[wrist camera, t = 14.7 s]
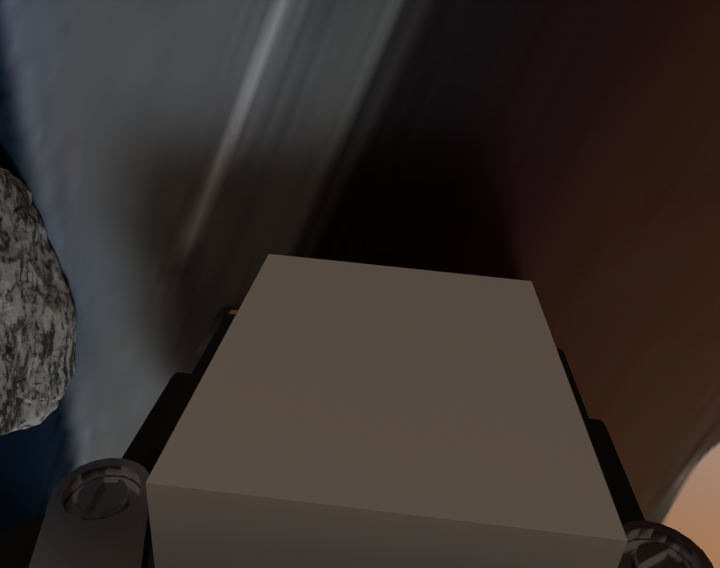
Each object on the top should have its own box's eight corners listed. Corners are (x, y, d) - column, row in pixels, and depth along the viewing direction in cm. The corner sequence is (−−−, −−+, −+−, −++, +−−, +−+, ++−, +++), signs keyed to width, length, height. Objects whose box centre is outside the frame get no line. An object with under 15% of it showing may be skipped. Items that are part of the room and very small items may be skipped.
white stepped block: (268, 254, 12) (145, 483, 6) (531, 281, 12) (627, 540, 6) (265, 545, 15) (185, 848, 10) (466, 571, 15) (492, 892, 10)
